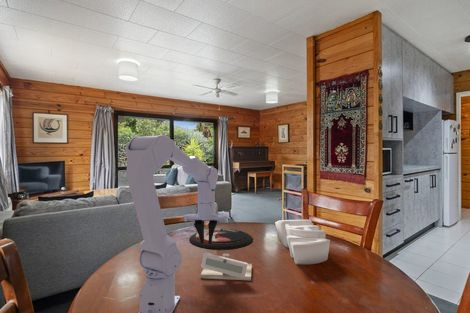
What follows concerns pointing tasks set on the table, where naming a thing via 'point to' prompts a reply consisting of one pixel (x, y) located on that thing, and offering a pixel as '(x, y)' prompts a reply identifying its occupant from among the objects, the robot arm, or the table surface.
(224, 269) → the frame
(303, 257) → the white wavy slab sculpture
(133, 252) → the table surface
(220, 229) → the wall clock
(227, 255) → the easel stand
